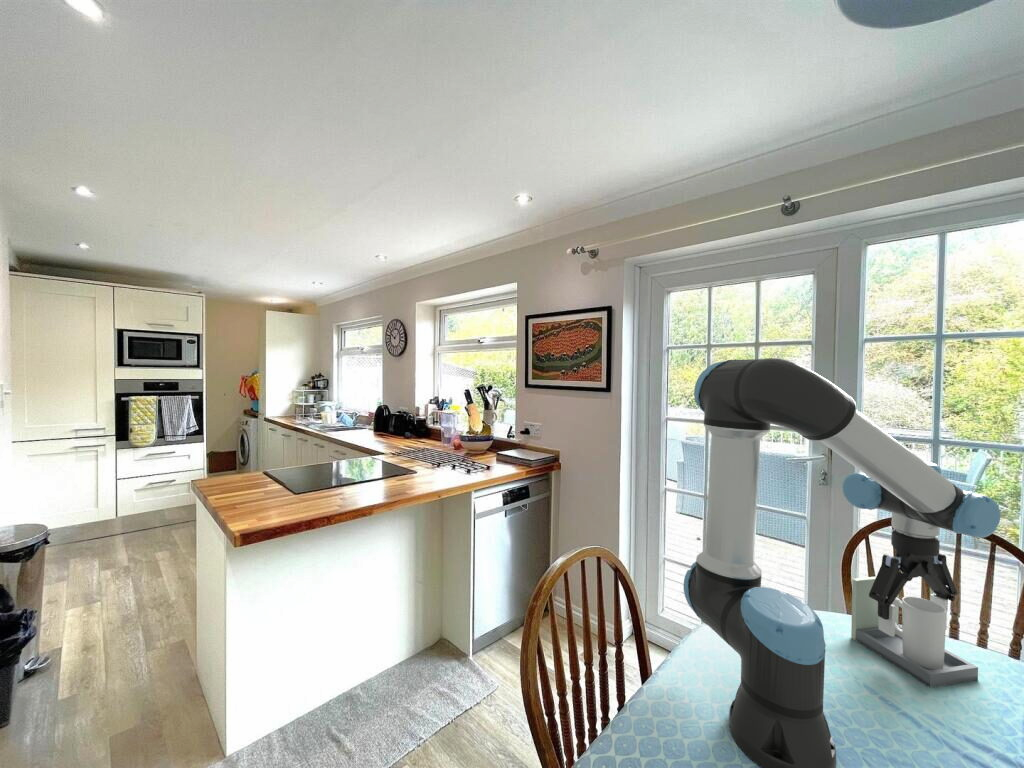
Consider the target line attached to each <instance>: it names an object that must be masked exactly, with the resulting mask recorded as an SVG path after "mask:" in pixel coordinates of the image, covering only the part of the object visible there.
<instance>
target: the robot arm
mask: <svg viewBox="0 0 1024 768" xmlns="http://www.w3.org/2000/svg"><path fill="white" fill-rule="evenodd" d="M693 390H694V391H693V394H694V395H693V396H694V400H695V402H696V405H697V406H698V407H699V409H700V410H701V411H702V412H703V413H704V414H703V417H704V418H703V427H705V428H706V429H707V431H709V434H711V435H710V436H711V437H710V454H709V471H708V473H709V475H708V488H707V489H708V490H707V491H708V492H707V506H706V507H707V508H706V527H705V542H704V543H705V546H704V550H703V551H702V552H700V553H698V554H697V555H696V558H695V559H696V560H695V561H694V562H693V563H692V564H691V565H690V567H691V568H690V569H688V570H687V571H686V572H685V575H684V579H683V594H684V598H685V600H686V603H687V604H688V606H689V607H690V609H691V610H692V611H693V612H694V614H695V615H696V616H697V618H699V619H700V621H701V622H702V623H703V624H705V625H706V626H708V627H709V628H710V629H711V630H712V631H714V632H715V633H716V634H717V635H718V637H719V638H721V639H722V640H723V641H724V642H725V643H726V644H728V646H729V647H731V648H732V649H733V650H734V651H735V652H736V653H737V654H738V655H739V656H740V684H739V686H738V687H737V691H736V694H735V697H734V699H733V700H732V702H731V704H730V707H729V712H728V716H729V718H728V727H729V732H730V734H731V737H732V739H733V740H734V742H735V743H736V745H737V747H738V748H739V749H740V750H741V752H743V753H744V755H746V756H747V758H749V759H750V760H751V761H752V762H754V763H755V764H756V763H757V764H756V765H758V766H759V765H760V766H759V767H761V766H762V767H764V768H837V750H836V746H835V743H834V739H833V738H832V734H831V730H830V727H829V725H828V721H827V719H826V716H825V712H824V691H825V689H824V688H825V687H824V686H825V664H826V663H825V662H826V661H825V660H826V641H825V637H824V636H825V635H824V631H825V630H824V627H823V622H822V621H821V619H820V617H819V615H818V614H817V613H816V612H815V610H813V609H812V608H811V607H810V606H809V605H808V604H807V603H805V602H804V601H803V600H801V599H799V598H798V597H796V596H794V595H792V594H790V593H784V592H781V590H779V589H776V588H771V587H763V586H762V574H763V573H762V569H761V568H760V567H759V565H758V564H757V563H756V562H755V561H754V555H755V553H754V552H755V535H756V519H757V518H756V517H757V502H758V501H757V499H758V486H759V485H758V484H759V482H758V481H759V470H760V469H759V465H760V450H761V439H762V438H763V437H764V436H766V435H767V434H768V433H769V432H771V425H776V426H779V427H783V428H786V429H789V430H792V431H793V432H795V433H797V434H799V435H801V436H802V437H803V438H804V439H806V440H808V441H811V442H820V443H822V444H823V445H824V446H826V447H827V448H829V449H830V450H831V451H833V452H834V453H836V454H837V455H838V456H840V457H841V458H842V459H844V460H845V461H846V462H848V463H849V464H851V465H852V466H853V467H855V468H857V469H858V470H859V471H860V472H853V473H850V474H848V475H847V476H846V477H845V478H844V479H843V481H842V493H843V495H844V497H845V499H846V501H847V502H848V503H849V504H850V505H852V506H853V507H855V508H857V509H861V510H870V511H873V510H876V509H877V510H882V511H885V512H889V513H891V525H890V526H891V527H892V528H893V529H891V535H890V536H891V537H890V538H891V539H890V541H891V542H890V544H891V546H892V547H893V548H894V549H895V555H894V556H891V555H888V554H886V553H885V554H882V559H881V564H880V565H881V566H879V567H880V568H879V570H878V572H877V574H876V579H875V581H874V583H873V586H872V588H871V590H870V593H869V597H870V598H872V599H874V600H876V601H878V616H879V627H878V629H879V630H881V631H883V632H884V633H886V634H888V635H889V636H891V637H894V636H895V606H894V605H892V603H893V601H894V600H895V599H896V597H897V596H898V594H899V595H900V593H901V591H902V590H903V588H904V587H905V586H906V584H907V583H908V582H910V581H912V580H913V579H914V578H915V579H916V578H918V577H921V578H923V580H924V581H925V582H926V583H925V584H927V586H928V587H929V588H930V589H931V591H932V593H930V594H929V600H930V601H932V602H935V603H937V604H939V605H941V606H942V607H944V608H945V609H946V626H947V624H948V623H947V620H948V616H947V615H948V606H949V605H948V603H949V602H948V601H951V602H954V601H955V599H956V597H955V596H957V595H958V591H957V587H956V585H955V583H954V580H953V577H952V575H951V572H950V569H949V568H948V567H949V566H948V564H947V556H946V554H943V553H940V548H941V547H940V545H941V543H940V542H941V540H940V538H939V537H938V536H940V535H941V533H940V531H941V530H940V529H944V530H946V531H950V532H954V534H958V535H959V534H960V535H965V536H969V537H972V538H976V539H981V538H987V537H989V536H990V535H992V534H994V533H995V532H996V531H997V528H998V526H999V524H1000V522H1001V509H1000V508H999V505H998V503H997V502H996V501H995V500H994V499H993V498H991V497H989V496H987V495H983V494H979V493H977V492H975V491H972V490H971V491H967V490H964V489H961V488H960V487H958V486H957V485H955V484H954V483H953V482H951V481H950V480H949V479H947V477H945V476H943V475H942V469H941V467H940V466H939V465H938V464H937V463H934V462H932V461H926V460H925V461H924V460H923V459H922V458H920V457H919V456H918V455H916V454H915V453H914V452H912V451H911V450H909V448H907V447H906V446H904V445H903V444H902V443H900V441H898V440H897V439H895V437H893V436H891V435H890V434H888V432H886V431H885V430H883V429H882V428H881V427H879V425H877V424H875V423H874V421H872V420H871V419H869V418H868V417H867V416H866V415H864V414H863V413H862V412H860V411H858V409H857V404H856V401H855V400H854V399H853V397H852V396H850V395H849V394H848V393H846V392H845V391H844V390H842V389H841V388H840V387H838V386H837V385H835V384H834V383H832V382H831V381H830V380H828V379H826V378H825V377H823V376H821V375H820V374H818V373H817V372H814V370H811V369H809V368H807V367H805V366H803V365H801V364H799V363H796V362H794V361H791V360H787V359H783V358H775V357H774V358H773V357H772V358H771V357H770V358H768V357H767V358H757V359H756V358H755V359H754V358H753V359H751V358H750V359H748V358H747V359H728V360H722V361H717V362H715V363H712V364H710V365H709V366H707V367H706V368H705V369H703V371H702V372H701V373H700V374H699V375H698V377H697V379H696V381H695V385H694V389H693ZM762 767H761V768H762Z"/></svg>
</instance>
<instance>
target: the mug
mask: <svg viewBox="0 0 1024 768" xmlns="http://www.w3.org/2000/svg"><path fill="white" fill-rule="evenodd" d="M892 605H894V606H895V607H896V606H899V608H901V624H902V625H901V626H902V629H900V628H899V627H898V625H897V624H896V622H895V634H896V635H898V636H900V637H901V638H902V644H903V655H904V656H905V657H907V658H908V659H910V660H912V661H913V662H915V663H917V664H918V665H920V666H922V667H924V668H928V669H933V670H935V669H942V668H943V666H944V652H945V650H946V647H945V645H946V630H947V625H946V609H945V608H944V607H942V606H941V605H939V604H937V603H935V602H932V601H930V599H925V598H921V597H917V596H910V595H909V596H904V597H901V599H900V598H899V599H898V598H896V599H895V600H894V601H893V603H892Z"/></svg>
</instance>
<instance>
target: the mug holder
mask: <svg viewBox="0 0 1024 768" xmlns="http://www.w3.org/2000/svg"><path fill="white" fill-rule="evenodd" d="M876 576H877V575H876ZM876 576H867V577H857V578H852V579H851V580H852V582H851V630H850V631H851V633H850V635H851V636H850V638H851V639H853V640H854V641H856V642H857V643H859V644H861V645H862V646H863V647H865V648H867V649H868V650H870V651H872V652H873V653H874V654H876V655H877V656H879V657H881V658H883V660H886V661H887V662H889V663H890V664H892V665H894V666H896V667H897V668H898V669H900V670H901V671H903V672H904V673H905V674H908V675H909V676H911V677H912V678H914V679H915V680H917V681H918V682H920V683H921V684H924V685H925V686H926V687H928V688H929V689H930V688H935V687H936V688H937V687H942V686H948V685H954V684H961V683H967V682H973V681H978V679H979V666H977V665H975V664H973V663H971V662H969V661H968V660H965V659H963V658H962V657H960V656H958V655H957V654H955V653H952V652H951V651H949V650H947V649H945V652H944V666H943V668H942V669H935V670H933V669H928V668H924V667H922V666H920V665H918V664H917V663H915V662H913V661H912V660H910V659H908V658H907V657H905V656H904V655H903V644H902V638H901V637H900V636H898V635H896V634H895V636H894V637H891V636H889V635H888V634H886V633H884V632H883V631H881V630H879V629H878V627H879V616H878V601H876V600H874V599H872V598H870V597H869V593H870V590H871V588H872V586H873V583H874V581H875V579H876ZM899 597H900V593H899V594H898V596H897V597H896V598H898V599H900V598H899ZM899 609H900V607H899V606H896V607H895V622H896V624H897V625H898V627H899V628H900V629H902V625H901V624H899V612H900V611H899Z"/></svg>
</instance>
